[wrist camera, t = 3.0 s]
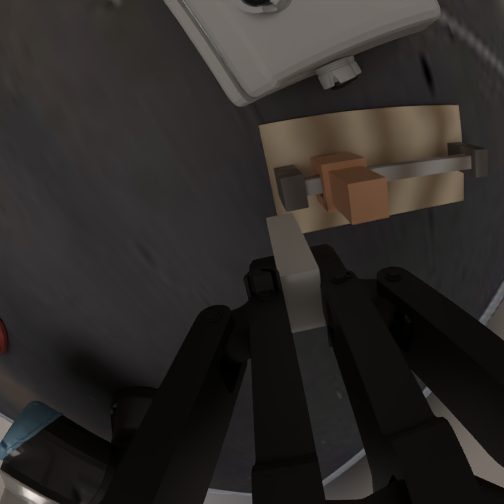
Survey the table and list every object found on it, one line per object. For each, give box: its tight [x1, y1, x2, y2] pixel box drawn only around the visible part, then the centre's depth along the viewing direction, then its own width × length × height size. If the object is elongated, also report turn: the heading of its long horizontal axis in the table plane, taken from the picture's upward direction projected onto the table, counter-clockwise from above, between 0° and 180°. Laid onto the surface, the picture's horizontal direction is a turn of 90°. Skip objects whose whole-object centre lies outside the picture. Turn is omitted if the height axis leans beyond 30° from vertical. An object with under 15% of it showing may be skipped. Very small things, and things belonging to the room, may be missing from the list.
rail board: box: [258, 105, 488, 233], centre depth 28 cm, size 24×12×6 cm, turn 102°
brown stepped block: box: [310, 152, 389, 225], centre depth 25 cm, size 4×4×9 cm
